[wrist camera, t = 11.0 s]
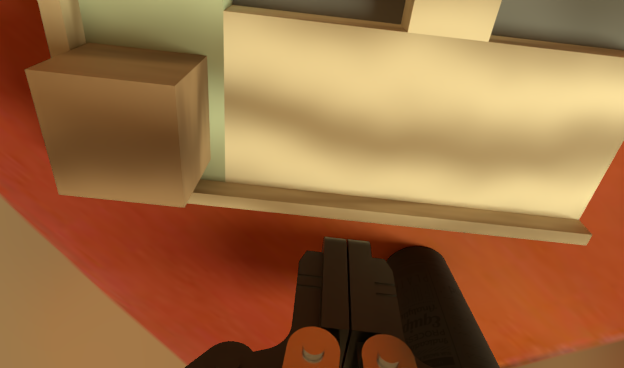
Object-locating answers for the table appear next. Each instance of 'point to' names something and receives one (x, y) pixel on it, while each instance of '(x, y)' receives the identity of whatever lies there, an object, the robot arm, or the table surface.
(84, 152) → the walnut block
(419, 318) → the drinking cup
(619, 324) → the table surface
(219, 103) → the board
